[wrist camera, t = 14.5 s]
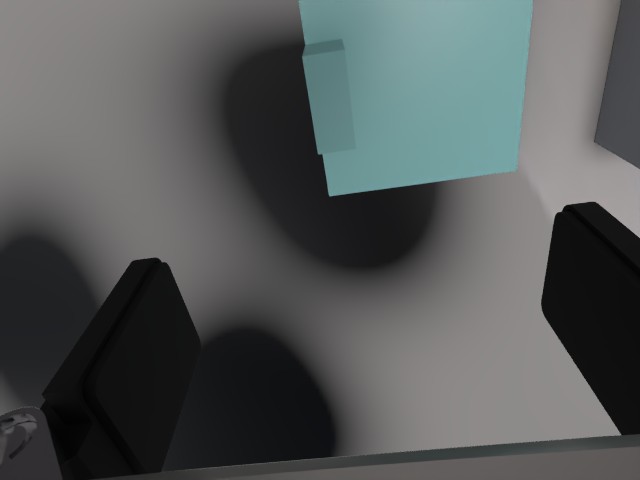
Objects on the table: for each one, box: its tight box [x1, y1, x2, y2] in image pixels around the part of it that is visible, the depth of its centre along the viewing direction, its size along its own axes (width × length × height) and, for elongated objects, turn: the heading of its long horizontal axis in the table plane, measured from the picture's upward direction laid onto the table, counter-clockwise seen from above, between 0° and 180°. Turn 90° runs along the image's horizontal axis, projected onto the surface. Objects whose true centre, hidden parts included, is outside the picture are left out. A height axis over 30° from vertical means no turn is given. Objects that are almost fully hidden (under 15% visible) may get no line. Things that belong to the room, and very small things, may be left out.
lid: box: [298, 0, 533, 196], centre depth 29 cm, size 17×15×8 cm
